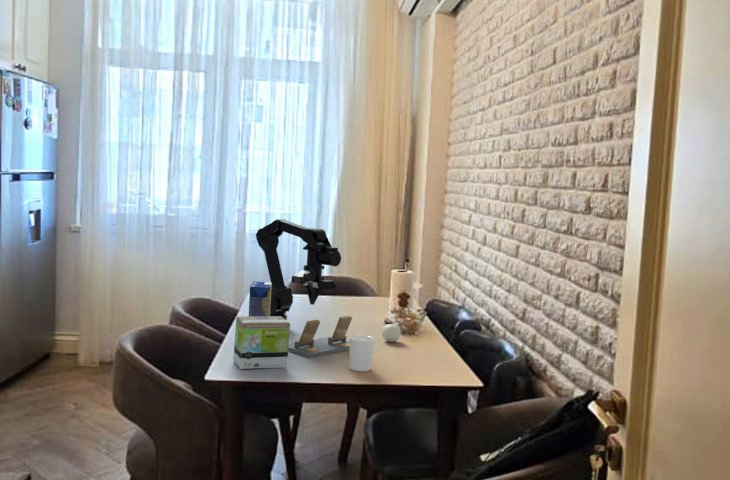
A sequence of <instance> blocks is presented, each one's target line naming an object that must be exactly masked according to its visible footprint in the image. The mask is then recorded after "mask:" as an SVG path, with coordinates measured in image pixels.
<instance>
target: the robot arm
mask: <svg viewBox="0 0 730 480" xmlns="http://www.w3.org/2000/svg"><path fill="white" fill-rule="evenodd" d="M283 233H286V234H290V235H293V236H295V237H298V238H300V239H301V240H302V241H303V242H304V243H306V245H304V246H303V248H302V250H304V251H305V250H306V251H307V253H306V255H307V256H306V264H304V265H303V268H302V270H299V271H298V272H296V273H294V274H293V275H292V276H291V283H295V284H298V285H300V286H301V287H302V288H303V289H305V291H306V294H307V297H308V301H309V305H312V306H313V305H315V303H316V301H317V300H318V298H319V296H320V294H321V293H322V291H323V290H335V289H336V287H337V283H336V281H335V280H332V279H324V278H325V277H324V276H322V274H323V273H322V271H323V270H325V266H331V267H338V266H339V265H340V264H341V262H342V256H341V252H340V251H339V248H338V247H332V244H331V242H330V241H329V238H328V237H327V234H326V230H324V229H323V228H313V227H312V228H311V227H306V226H302V225H300V224H297V223H294V222H290V221H289V220H287V219H283V218H282V219H281V218H279V219H275V220H273V221H272V222H271V223H268V224H266V225H264V226H263V227H261V228H259V229H258V230H257V231H256V234H255V238H256V242H257V245H258V246H259V248H260V249H261V250H262V252H264V253H263V254H264V257H265V258H264V259H265V262H266V266H267V271H268V277H269V282H272V290H271V308H270V316H282V317H283V318H284V319H285V320H287V321H288V315H287V312H290V309H291V307H292V304H293V303H294V296H293V292H292V291H293V290H292V288H290V287H287V286H286V285H285V281H284V276H283V272H282V267H281V263H280V258H279V254H278V245H279V242H280V241H279V237H280V236H282V235H283Z"/></svg>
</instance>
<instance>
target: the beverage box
mask: <svg viewBox="0 0 730 480" xmlns="http://www.w3.org/2000/svg"><path fill="white" fill-rule="evenodd" d="M271 290H272V282H271V281H254V280H253V281H251V283H250V286H249V298H248V317H260V316H270V308H271Z"/></svg>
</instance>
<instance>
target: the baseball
mask: <svg viewBox="0 0 730 480" xmlns="http://www.w3.org/2000/svg"><path fill="white" fill-rule="evenodd" d="M381 332H382V334H381V335H382V338H383V340H385V341H386V342H387V343H395V342H398V340H399V339H400V337H401V335H402V334H401V329H400V327H399V326H398V325H397V324H394V323H393V324H392V323H388V324H386V325H384V327H383V328H382V331H381Z"/></svg>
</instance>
